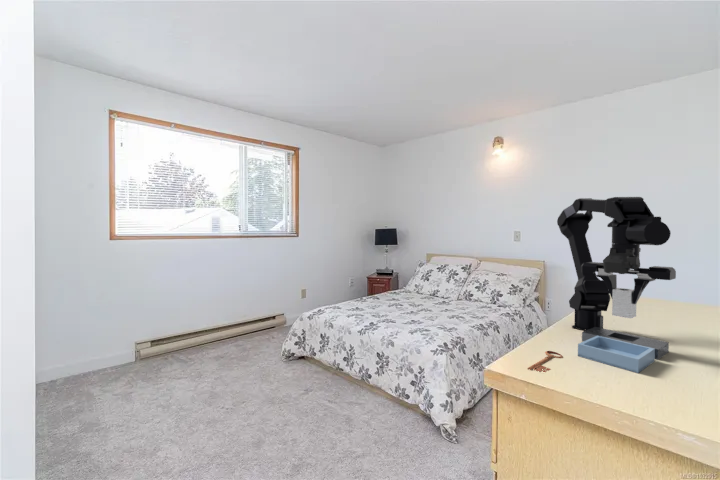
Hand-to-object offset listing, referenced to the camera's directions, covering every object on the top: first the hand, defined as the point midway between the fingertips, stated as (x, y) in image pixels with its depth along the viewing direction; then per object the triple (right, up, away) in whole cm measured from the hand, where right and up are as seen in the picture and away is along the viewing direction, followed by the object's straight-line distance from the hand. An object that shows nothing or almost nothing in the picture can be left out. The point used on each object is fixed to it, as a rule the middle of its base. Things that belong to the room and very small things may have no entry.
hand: (624, 302), depth 85 cm
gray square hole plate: (0, -12, 0) cm, 12 cm away
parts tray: (-9, -12, -8) cm, 17 cm away
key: (-26, -13, -10) cm, 31 cm away
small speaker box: (0, -4, 0) cm, 4 cm away
